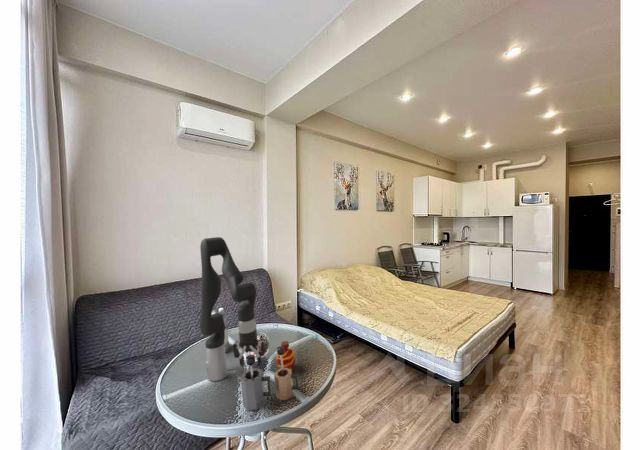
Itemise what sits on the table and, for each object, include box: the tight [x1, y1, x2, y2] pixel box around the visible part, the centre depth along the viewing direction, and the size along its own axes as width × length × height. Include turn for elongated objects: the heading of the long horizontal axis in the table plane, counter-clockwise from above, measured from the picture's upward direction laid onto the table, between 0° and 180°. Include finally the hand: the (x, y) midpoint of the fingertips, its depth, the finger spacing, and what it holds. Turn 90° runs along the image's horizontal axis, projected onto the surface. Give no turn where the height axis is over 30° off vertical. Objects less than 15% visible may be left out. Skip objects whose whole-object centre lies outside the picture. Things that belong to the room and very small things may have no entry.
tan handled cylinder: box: [273, 368, 300, 401], centre depth 118 cm, size 10×8×10 cm
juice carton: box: [211, 307, 230, 353], centre depth 162 cm, size 9×10×27 cm
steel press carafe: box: [240, 367, 273, 412], centre depth 114 cm, size 12×9×13 cm
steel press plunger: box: [245, 354, 256, 379], centre depth 114 cm, size 4×4×19 cm
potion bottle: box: [276, 340, 296, 372], centre depth 136 cm, size 10×10×15 cm
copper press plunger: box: [276, 345, 285, 376], centre depth 118 cm, size 3×3×15 cm
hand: (251, 364), depth 114 cm, fingers open, 6 cm apart
